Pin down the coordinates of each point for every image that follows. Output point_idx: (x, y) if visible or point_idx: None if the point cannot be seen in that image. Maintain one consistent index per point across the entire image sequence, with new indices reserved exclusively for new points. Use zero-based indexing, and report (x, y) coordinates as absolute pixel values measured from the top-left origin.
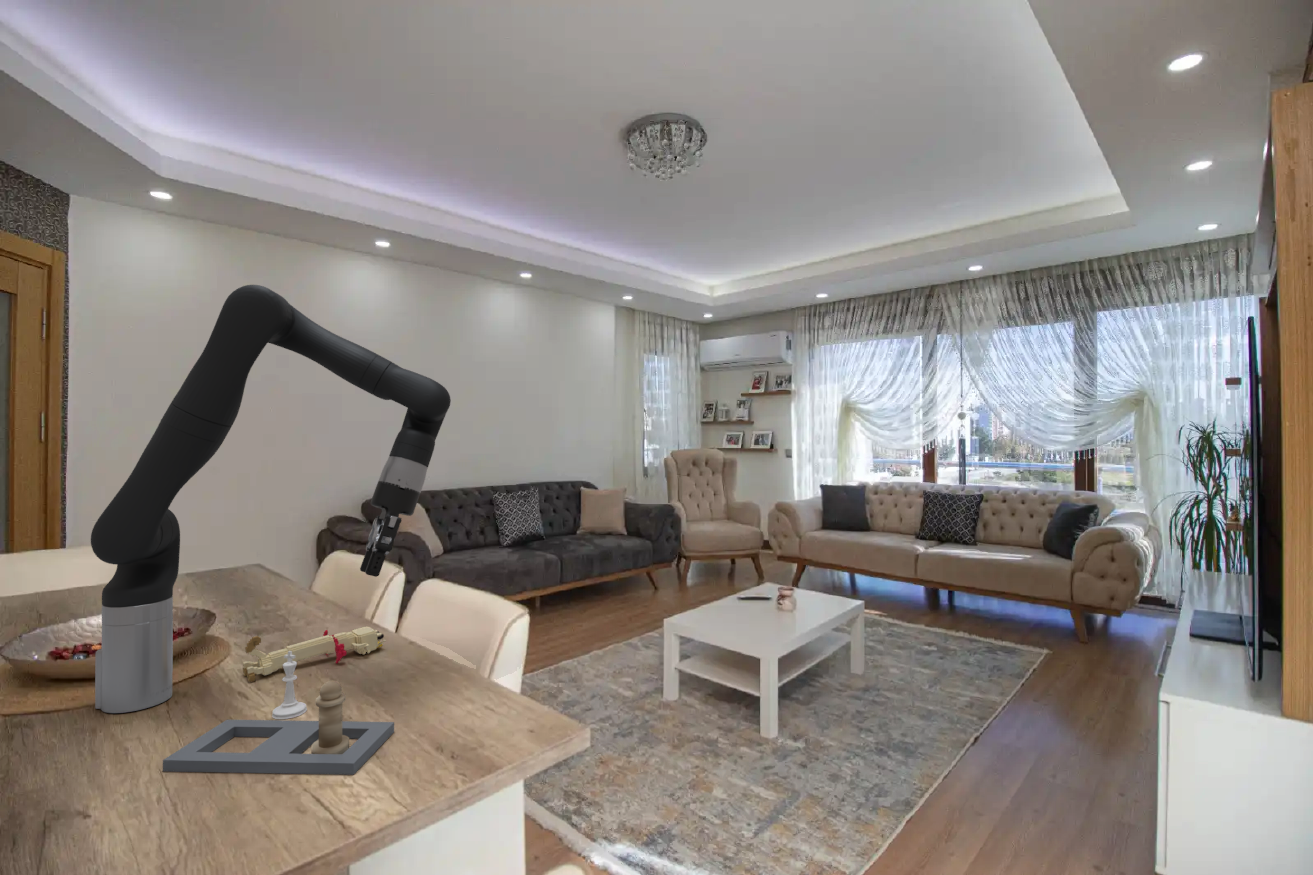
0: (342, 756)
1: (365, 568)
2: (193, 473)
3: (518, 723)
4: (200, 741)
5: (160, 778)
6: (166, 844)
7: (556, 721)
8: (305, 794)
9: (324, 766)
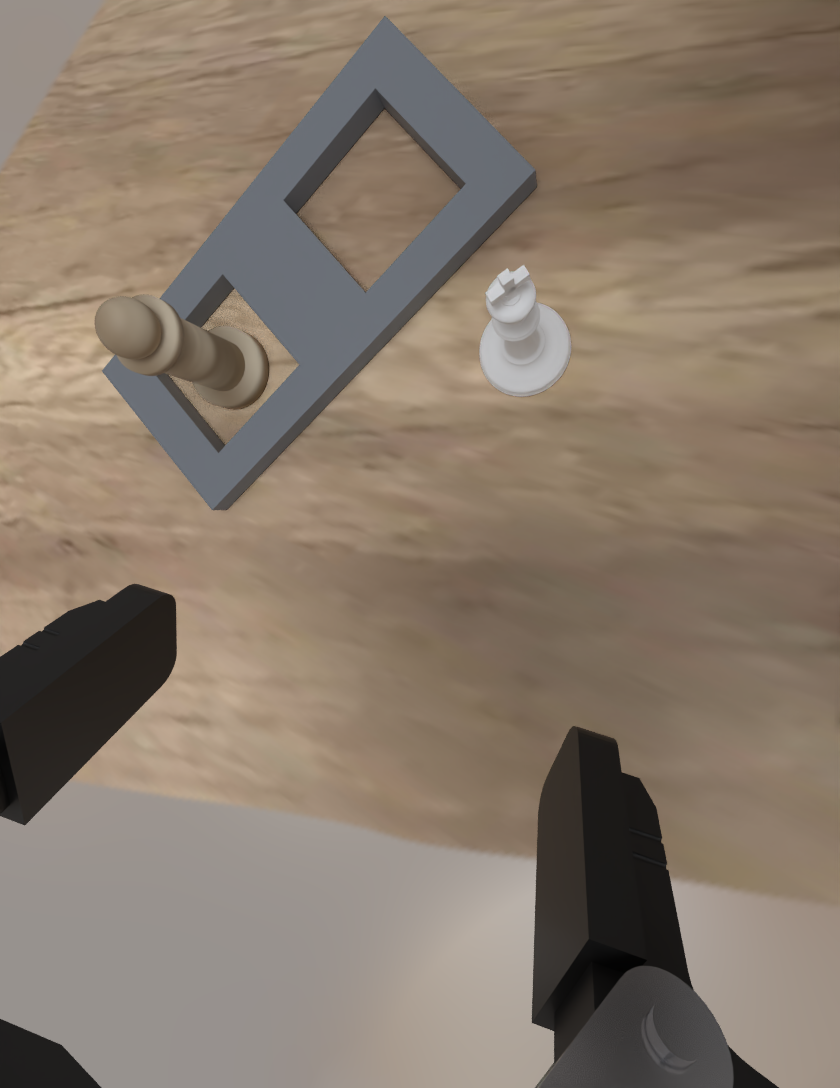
0: None
1: (562, 773)
2: None
3: None
4: (430, 98)
5: (362, 37)
6: (112, 64)
7: None
8: (114, 286)
9: None
